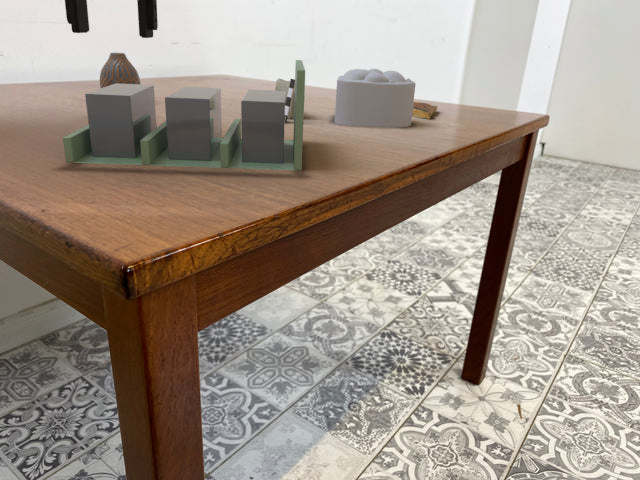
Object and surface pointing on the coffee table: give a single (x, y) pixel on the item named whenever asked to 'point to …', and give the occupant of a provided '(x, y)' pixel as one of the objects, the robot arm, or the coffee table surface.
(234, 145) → the book rack
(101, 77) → the vase
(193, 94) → the clay tablet
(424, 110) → the brown yellow flat block
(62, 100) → the coffee table surface
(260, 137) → the clay tablet
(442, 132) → the coffee table surface
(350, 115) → the lumpy-topped squat cylinder
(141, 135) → the gray rectangular block
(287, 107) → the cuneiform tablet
